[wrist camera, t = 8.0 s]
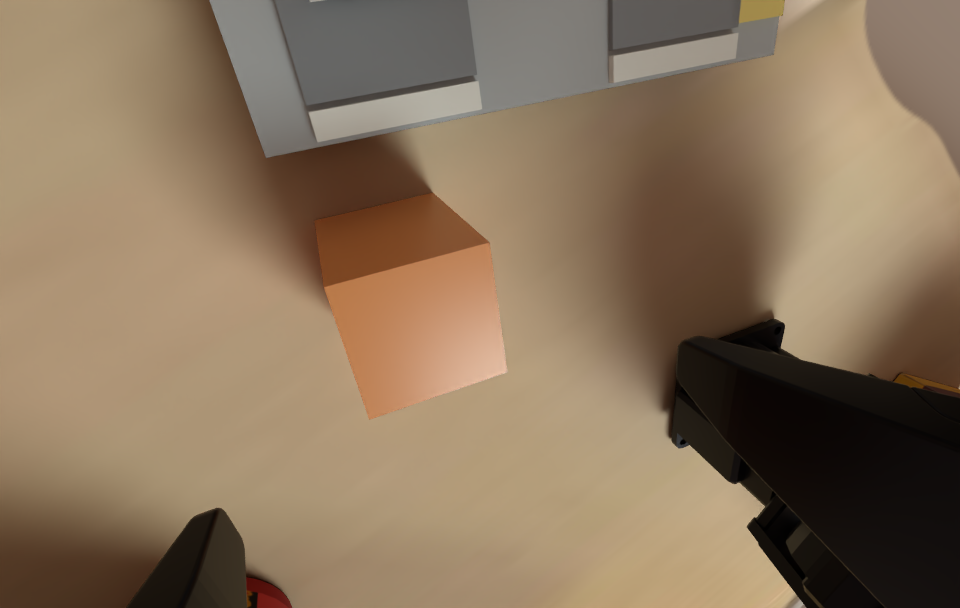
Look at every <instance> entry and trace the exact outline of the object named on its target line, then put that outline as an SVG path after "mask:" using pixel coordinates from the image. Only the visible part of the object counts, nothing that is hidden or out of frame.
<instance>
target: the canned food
mask: <svg viewBox="0 0 960 608" xmlns="http://www.w3.org/2000/svg"><path fill="white" fill-rule="evenodd" d="M246 591H247V608H292V606H291V604H290V601H289V599H288V598H287V597H286V596H285V594H284V593H283V592H282V591H280V590H279V589H277V588H276V587H275V586H273V585H271V584H269V583H266V582H264V581H261V580H258V579H253V578H248V577H246Z"/></svg>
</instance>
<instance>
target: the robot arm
mask: <svg viewBox="0 0 960 608" xmlns="http://www.w3.org/2000/svg"><path fill="white" fill-rule="evenodd" d="M784 329H785V324H784V323H783V322H781V321H779V320H777V319H772V320H769V321H767V322H764V323H761V324H759V325H756V326H753V327H750V328H748V329H745V330H742V331H740V332H737V333H734V334H731V335H729V336H726V337H723V338H721V339H718V340H715V339H711V338H707V337H703V336H694V337H691V338H689V339H686V340H683V341H681V342H680V344H679V346H678V353H677V366H676V375H677V379H676V391H675V403H674V415H673V428H672V443H673V444H674V445H675V446H676V447H678V448H684V447H686V446H688V445H690V446H691V447H692V448H694V449H695V450H696V451H697V452H698V453H699V454H700V455H701V456H702V457H703V458H704V459H705V460H706V461H707V462H708V463H709V464H710V465H711V466H713V467H714V468H715V469H716V470H717V471H718V472H719V473H720V474H721V475H722V476H723V477H724V478H725V479H726V480H727V481H729V482H731V483H732V484H737V483H741V484H742V485H743V486H744V487H745V488H746V489H747V490H748V491H749V492H750V493H751V494H752V495H754V496H755V497H756V498H757V499H758V500H759V501H760V502H761V503H762V504H763V505H764V506H765V508H764V509H763V510H762V512H761V513H760V514H759V515H758V517H757V518H755V517H754V518H753V519H752V520H751V522H750V523H749V524H748V525H747V528H748V530H749V531H750V532H751V533H752V535H753V536H754V537H755V539H756V540H757V541H758V544H759V546H760V547H761V549H762V550H763V551H764V553H765V554H766V555H767V557H768V558H769V559H770V561H771V562H772V563H773V564H774V566H775V567H776V568H777V570H778V571H779V572H780V574H781V575H782V576H783V578H784V579H785V580H786V581H787V583H788V584H789V585H790V587H791V588H792V589H793V591H794V592H795V593H796V595H797V596H798V597H799V598H800V600H801V601H802V602H803V604H804V605H805V606H806V608H960V397H955V396H951V395H947V394H942V393H938V392H934V391H930V390H925V389H921V388H917V387H911V388H910V387H909V386H908V385H904V384H900V383H896V382H892V381H887V380H883V379H880V378H878V377H876V376H874V375H872V374H870V373H869V374H868V375H867V376H866V375H862V374H858V373H854V372H850V371H845V370H841V369H837V368H833V367H829V366H824V365H820V364H816V363H812V362H808V361H803V360H800V359H799V358H797V357H795V356H793V355H792V354H790V353H788V352H786V351H785V350H783V349H781V343H782V339H783V334H784ZM126 608H247V591H246V567H245V549H244V543H243V540H242V538H241V536H240V534H239V533H238V531H237V529H236V528H235V526H234V525H233V523H232V521H231V520H230V518H229V517H228V515H227V514H226V512H225V511H224V510H223V509H221V508H215V509H212V510H209V511H207V512H204V513H201V514H198V515H196V516H194V517H193V518H192V519H191V520H190V521H189V522H188V524H187V525H186V527H185V528H184V529H183V531H182V532H181V533H180V535H179V536H178V537H177V539H176V540H175V542H174V543H173V544H172V546H171V547H170V548H169V550H168V551H167V552H166V554H165V555H164V557H163V558H162V559H161V561H160V562H159V563H158V565H157V566H156V567H155V569H154V570H153V572H152V573H151V574H150V576H149V577H148V578H147V580H146V581H145V582H144V584H143V585H142V587H141V588H140V589H139V591H138V592H137V593H136V595H135V596H134V597H133V599H132V600H131V602H130V603H129V604H128V606H127V607H126Z"/></svg>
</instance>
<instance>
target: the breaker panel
mask: <svg viewBox="0 0 960 608" xmlns="http://www.w3.org/2000/svg"><path fill="white" fill-rule="evenodd" d="M209 1H210V4H211V6H212V9H213V12H214V15H215V18H216V20H217V23H218V26H219V29H220V31H221V34H222V37H223V40H224V43H225V45H226V48H227V51H228V54H229V56H230V59H231V62H232V65H233V68H234V70H235V73H236V76H237V79H238V81H239V84H240V87H241V90H242V93H243V95H244V98H245V101H246V104H247V107H248V109H249V112H250V115H251V118H252V120H253V123H254V126H255V129H256V132H257V134H258V137H259V140H260V143H261V145H262V148H263V151H264V154H265V157H266V158H268V157H273V156H278V155H283V154H288V153H293V152H298V151H302V150H307V149H312V148H317V147H322V146H327V145H332V144H337V143H342V142H347V141H352V140H357V139H362V138H367V137H371V136H376V135H381V134H386V133H391V132H396V131H401V130H406V129H411V128H416V127H421V126H426V125H431V124H435V123H440V122H445V121H450V120H455V119H460V118H465V117H470V116H475V115H480V114H485V113H490V112H495V111H499V110H504V109H509V108H514V107H519V106H524V105H529V104H534V103H539V102H544V101H549V100H554V99H559V98H563V97H568V96H573V95H578V94H583V93H588V92H593V91H598V90H603V89H608V88H613V87H618V86H623V85H627V84H632V83H637V82H642V81H647V80H652V79H657V78H662V77H667V76H672V75H677V74H682V73H687V72H691V71H696V70H701V69H706V68H711V67H716V66H721V65H726V64H731V63H736V62H741V61H746V60H751V59H756V58H760V57H765V56H770V55H774V49H775V42H776V35H777V29H778V22H779V16H782V15H783V9H784V2H785V0H323V1H316V2H310V1H309V0H209Z"/></svg>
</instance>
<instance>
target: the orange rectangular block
mask: <svg viewBox="0 0 960 608" xmlns="http://www.w3.org/2000/svg"><path fill="white" fill-rule="evenodd" d="M314 222H315V229H316V236H317V243H318V250H319V257H320V264H321V271H322V278H323V285H324V289H325V292H326V295H327V298H328V301H329V304H330V307H331V310H332V312H333V315H334V318H335V321H336V324H337V327H338V330H339V333H340V336H341V339H342V342H343V344H344V347H345V350H346V353H347V356H348V359H349V362H350V365H351V368H352V371H353V374H354V376H355V379H356V382H357V385H358V388H359V391H360V394H361V397H362V400H363V403H364V405H365V408H366V411H367V414H368V417H369V420H370V419H373V418H375V417H378V416H381V415H384V414H387V413H390V412H393V411H396V410H399V409H402V408H405V407H407V406H410V405H413V404H416V403H419V402H422V401H425V400H428V399H431V398H434V397H437V396H439V395H442V394H445V393H448V392H451V391H454V390H457V389H460V388H463V387H466V386H469V385H471V384H474V383H477V382H480V381H483V380H486V379H489V378H492V377H495V376H498V375H501V374H503V373H506V372H507V365H506V358H505V351H504V344H503V336H502V329H501V322H500V315H499V308H498V301H497V293H496V286H495V279H494V272H493V265H492V257H491V250H490V243H489V242H488V241H487V240H486V239H485V238H484V237H483V236H482V235H480V234H479V233H478V232H477V231H476V230H475V229H474V228H472V227H471V226H470V225H469V224H468V223H467V222H466V221H464V220H463V219H462V218H461V217H460V216H459V215H458V214H457V213H455V212H454V211H453V210H452V209H451V208H450V207H449V206H447V205H446V204H445V203H444V202H443V201H442V200H441V199H440V198H438V197H437V196H436V195H435V194H434V193H429V194H425V195H420V196H416V197H412V198H408V199H404V200H399V201H395V202H391V203H387V204H382V205H378V206H374V207H370V208H365V209H361V210H357V211H353V212H349V213H344V214H340V215H336V216H332V217H327V218H323V219H319V220H315V221H314Z"/></svg>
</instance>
